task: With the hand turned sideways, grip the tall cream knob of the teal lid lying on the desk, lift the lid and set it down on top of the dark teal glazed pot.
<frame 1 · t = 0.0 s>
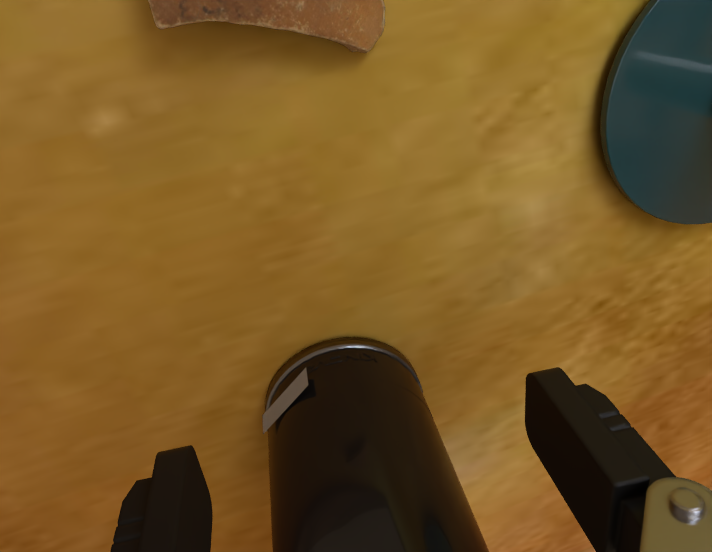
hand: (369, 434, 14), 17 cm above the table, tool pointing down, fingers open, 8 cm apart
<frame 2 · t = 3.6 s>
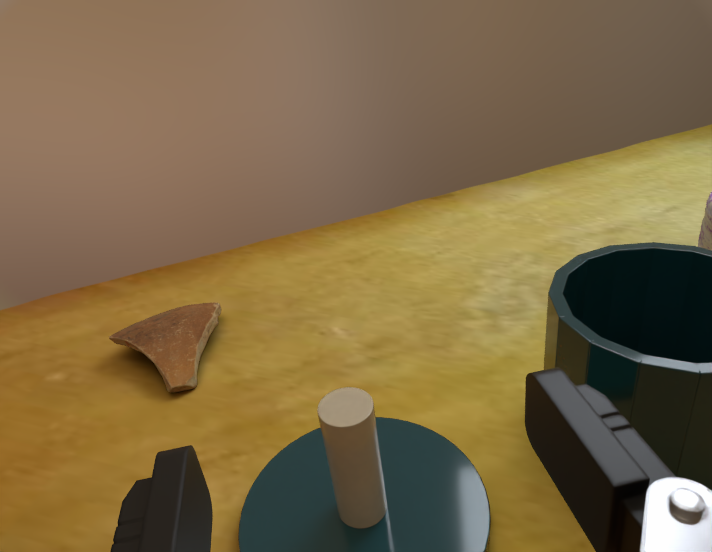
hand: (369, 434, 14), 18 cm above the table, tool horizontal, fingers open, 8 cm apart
pot: (648, 421, 37), on the table
pottery shard: (185, 348, 50), on the table
lid: (363, 513, 33), point 1 cm above the table
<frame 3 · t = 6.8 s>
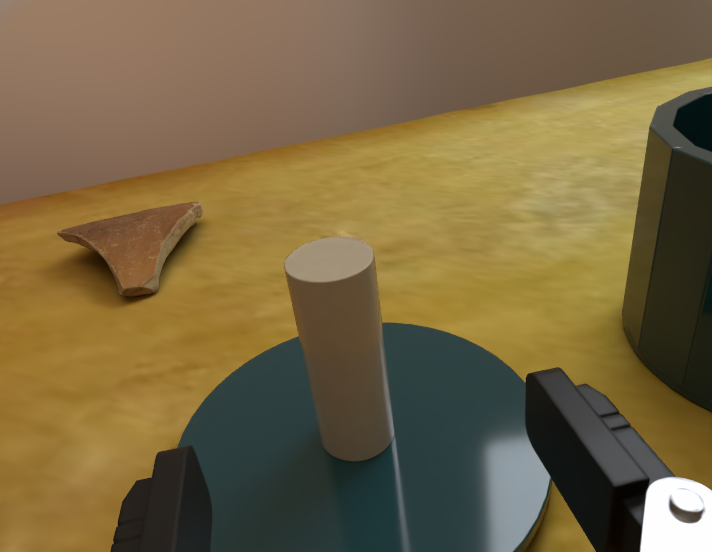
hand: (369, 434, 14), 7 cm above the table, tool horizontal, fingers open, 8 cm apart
pottery shard: (153, 253, 40), on the table
lid: (359, 443, 22), point 1 cm above the table
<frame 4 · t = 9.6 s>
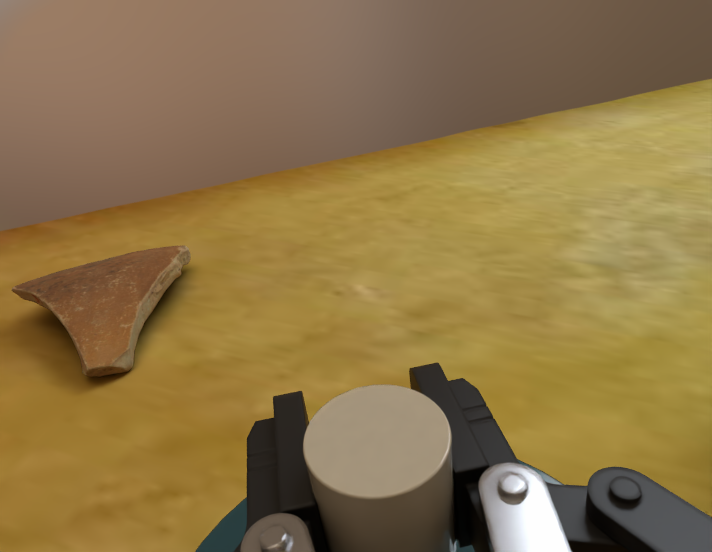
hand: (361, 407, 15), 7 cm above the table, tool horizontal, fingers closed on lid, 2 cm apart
pottery shard: (129, 311, 33), on the table
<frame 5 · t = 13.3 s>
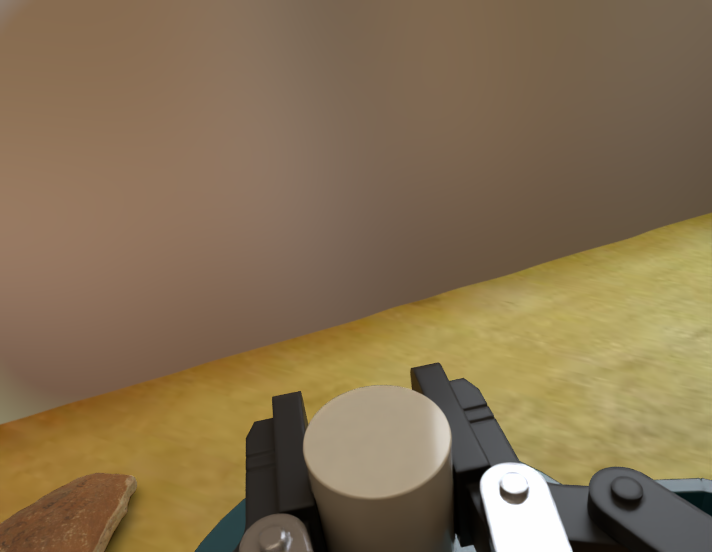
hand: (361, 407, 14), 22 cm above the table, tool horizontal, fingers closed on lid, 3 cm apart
pottery shard: (83, 546, 39), on the table
when the fingers open (16 cm above the table, at t = 17.2 s): lid stays where it is, resting on pot.
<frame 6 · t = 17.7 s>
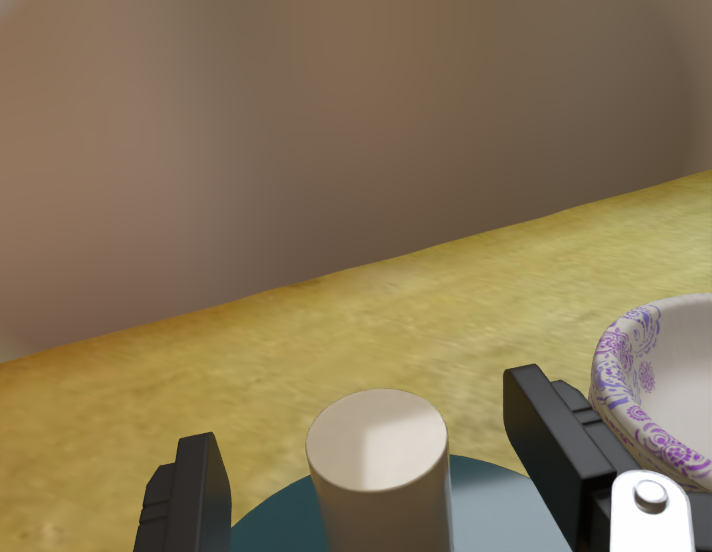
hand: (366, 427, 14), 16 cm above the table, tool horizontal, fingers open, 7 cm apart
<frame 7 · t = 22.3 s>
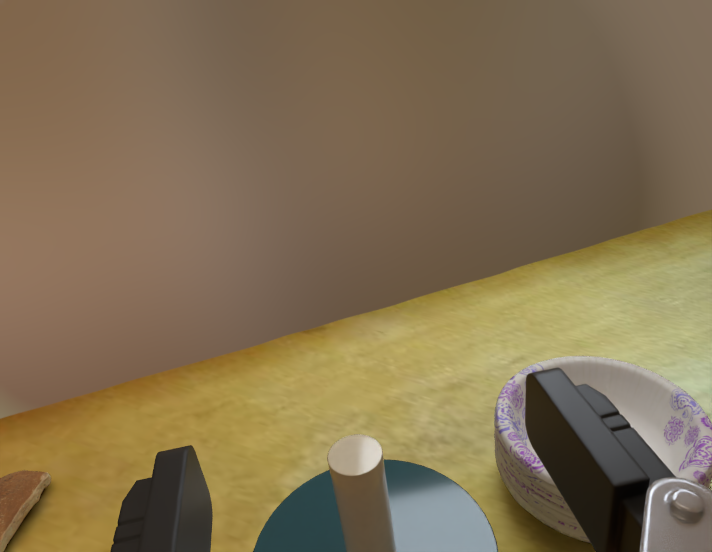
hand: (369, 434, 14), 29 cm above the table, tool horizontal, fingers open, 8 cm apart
pottery shard: (5, 525, 51), on the table
paper bowls: (592, 490, 46), on the table
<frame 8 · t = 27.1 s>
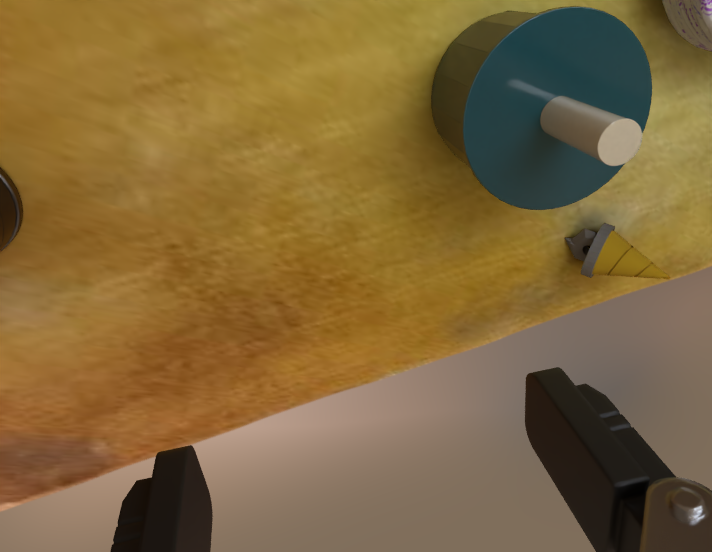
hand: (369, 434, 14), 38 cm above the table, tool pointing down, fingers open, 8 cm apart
drill bit: (594, 237, 58), on the table
pot: (503, 93, 49), on the table
lid: (554, 114, 41), point 9 cm above the table, touching pot
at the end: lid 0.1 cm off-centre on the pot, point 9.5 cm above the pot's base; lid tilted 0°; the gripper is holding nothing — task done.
